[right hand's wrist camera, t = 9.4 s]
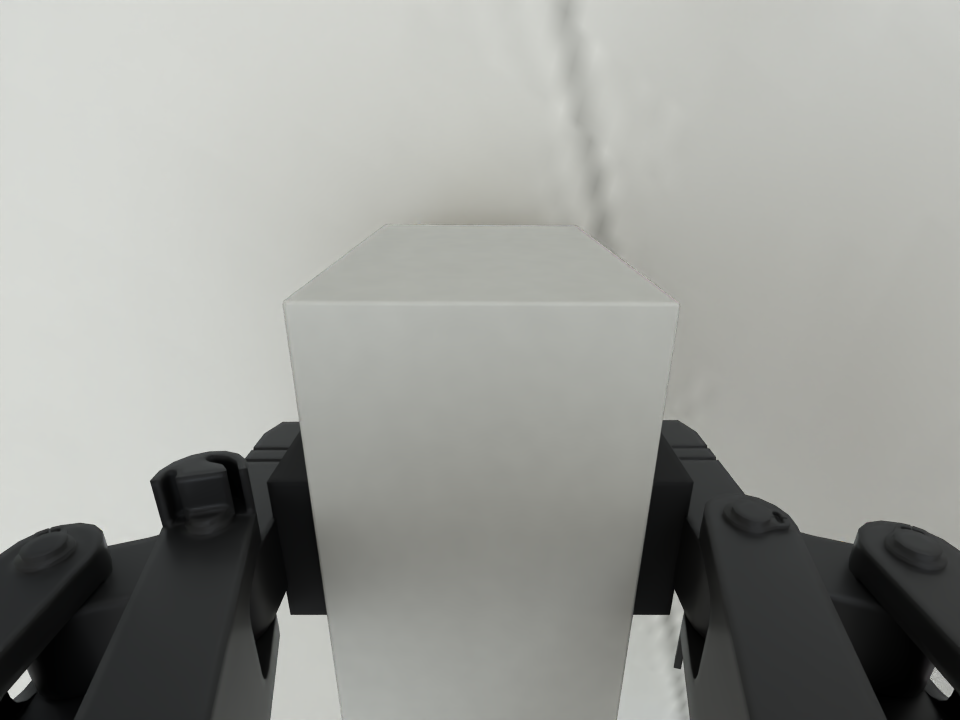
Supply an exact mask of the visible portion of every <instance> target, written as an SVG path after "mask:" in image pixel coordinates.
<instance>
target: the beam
mask: <svg viewBox="0 0 960 720" xmlns="http://www.w3.org/2000/svg"><path fill="white" fill-rule="evenodd" d="M679 309H680V304H679V302H678V301H677V300H675V299H674V298H673V297H671V296H670V295H669V294H667V293H666V292H665V291H663V290H662V289H661V288H659V287H658V286H657V285H655V284H654V283H653V282H651V281H650V280H649V279H647V278H646V277H645V276H643V275H642V274H641V273H639V272H638V271H637V270H635V269H634V268H633V267H631V266H630V265H629V264H627V263H626V262H625V261H623V260H622V259H621V258H619V257H618V256H617V255H615V254H614V253H613V252H611V251H610V250H609V249H607V248H606V247H605V246H603V245H602V244H601V243H599V242H598V241H597V240H595V239H594V238H593V237H591V236H590V235H589V234H587V233H586V232H585V231H583V230H582V229H581V228H579V227H578V226H576V225H384V226H383V227H381V228H380V229H379V230H377V231H376V232H375V233H373V234H372V235H371V236H369V237H368V238H367V239H365V240H364V241H363V242H361V243H360V244H359V245H357V246H356V247H355V248H354V249H352V250H351V251H350V252H348V253H347V254H346V255H344V256H343V257H342V258H340V259H339V260H338V261H336V262H335V263H334V264H332V265H331V266H330V267H328V268H327V269H326V270H324V271H323V272H322V273H320V274H319V275H318V276H316V277H315V278H314V279H312V280H311V281H310V282H308V283H307V284H306V285H304V286H303V287H302V288H300V289H299V290H298V291H296V292H295V293H294V294H292V295H291V296H290V297H288V298H287V299H286V300H284V302H283V310H284V317H285V324H286V331H287V338H288V345H289V352H290V359H291V366H292V373H293V380H294V387H295V394H296V401H297V408H298V415H299V422H300V429H301V436H302V443H303V450H304V457H305V464H306V471H307V478H308V485H309V492H310V499H311V506H312V513H313V520H314V527H315V534H316V541H317V548H318V555H319V562H320V568H321V575H322V582H323V589H324V596H325V603H326V610H327V617H328V624H329V631H330V638H331V645H332V652H333V659H334V666H335V673H336V680H337V687H338V694H339V701H340V708H341V715H342V720H617V715H618V708H619V702H620V695H621V689H622V682H623V675H624V669H625V662H626V656H627V649H628V643H629V636H630V630H631V623H632V617H633V610H634V603H635V597H636V590H637V584H638V577H639V571H640V564H641V558H642V551H643V545H644V538H645V532H646V525H647V518H648V512H649V505H650V499H651V492H652V486H653V479H654V473H655V466H656V460H657V453H658V446H659V440H660V433H661V427H662V420H663V414H664V407H665V401H666V394H667V388H668V381H669V375H670V368H671V361H672V355H673V348H674V342H675V335H676V329H677V322H678V316H679Z"/></svg>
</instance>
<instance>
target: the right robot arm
mask: <svg viewBox="0 0 960 720" xmlns="http://www.w3.org/2000/svg"><path fill="white" fill-rule="evenodd" d="M150 483H151V486H152V490H153V493H154V497H155V500H156V504H157V508H158V511H159V515H160V518H161V522H162V525H163V528H162V530H161V532H160V534H159V535H157V536H153V537H149V538H145V539H140V540H135V541H130V542H125V543H120V544H116V545H111V546H107V543H106V540H105V537H104V534H103V531H102V530H100V529H99V528H98V527H97V526H95V525H92V524H85V523H75V524H67V525H60V526H55V527H51V528H50V529H49V528H48V529H45V530H42V531H39V532H37V533H35V534H34V535H32V536H30V537H27V538H25V539H23V540H21V541H19V542H17V543H16V544H14V545H13V546H12V547H10V548H9V549H7V550H6V551H4V552H3V553H1V554H0V720H270V717H271V708H272V699H273V691H274V682H275V673H276V664H277V656H278V647H279V638H280V632H279V626H278V620H277V615H276V613H277V611H278V608H279V606H280V604H281V601H282V599H283V597H284V595H285V592H287V597H288V603H289V608H290V614H291V615H327V610H326V603H325V596H324V589H323V582H322V575H321V568H320V562H319V555H318V548H317V541H316V534H315V527H314V520H313V513H312V506H311V499H310V492H309V485H308V478H307V471H306V464H305V457H304V450H303V443H302V436H301V429H300V422H282V423H280V424H279V425H277V426H276V427H274V428H273V429H271V430H269V431H268V432H266V433H265V434H264V435H263V436H262V437H261V439H260V440H259V441H258V443H257V444H256V445H255V446H254V450H251V452H250V453H249V454H248V455H247V457H246V458H243V457H242V456H241V455H239V454H237V453H232V452H228V451H210V452H205V453H200V454H195V455H191V456H188V457H186V458H183V459H180V460H178V461H175V462H173V463H171V464H170V465H168V466H166V467H165V468H163V469H162V470H160V471H159V472H158V473H157V474H156V475H155V476H154V477H153V478H152V479H151V481H150ZM674 589H675V591H676V593H677V596H678V598H679V600H680V602H681V605H682V607H683V609H684V615H683V620H682V625H681V630H680V635H679V640H678V646H677V651H676V656H675V662H674V668H678V669H681V665H682V661H683V663H684V672H685V680H686V689H687V698H688V707H689V715H690V720H960V551H959V550H958V549H956V548H955V547H953V546H952V545H951V544H949V543H948V542H946V541H945V540H943V539H941V538H939V537H937V536H935V535H933V534H930V533H928V532H927V531H925V530H923V529H920V528H917V527H914V526H913V527H912V526H910V525H907V524H903V523H897V522H888V521H875V522H867V523H866V524H864V525H863V526H862V527H860V528H859V530H858V533H857V536H856V539H855V542H854V544H851V543H846V542H841V541H836V540H832V539H827V538H822V537H817V536H812V535H808V534H805V533H801V532H800V531H799V529H798V527H797V525H796V524H795V523H794V521H793V520H792V519H791V517H790V516H789V515H788V514H786V513H785V512H784V511H782V510H781V509H780V508H778V507H777V506H775V505H773V504H771V503H769V502H766V501H764V500H762V499H760V498H757V497H752V496H748V495H745V494H744V493H743V491H742V490H741V489H740V487H739V486H738V485H737V484H736V482H735V481H734V480H733V478H732V477H731V476H730V475H729V473H728V472H727V471H726V469H725V468H724V467H723V466H722V464H721V463H720V462H719V460H716V457H715V455H714V454H713V453H712V451H711V450H710V449H709V448H707V445H706V444H705V442H704V441H703V440H702V439H701V437H700V436H699V435H698V433H697V432H696V431H694V430H692V429H691V428H689V427H688V426H686V425H685V424H683V423H681V422H680V421H678V420H662V427H661V433H660V440H659V446H658V453H657V460H656V466H655V473H654V479H653V486H652V492H651V499H650V505H649V512H648V518H647V525H646V532H645V538H644V545H643V551H642V558H641V564H640V571H639V577H638V584H637V590H636V597H635V603H634V610H633V615H670V610H671V605H672V599H673V594H674ZM934 667H936V668H937V670H938V671H939V672H940V673H941V674H942V675H943V676H944V678H945V679H946V680H947V681H948V682H949V683H950V684H951V686H952V687H953V688H954V691H953V693H952V695H951V696H950V697H949V698H948V697H946V696H945V695H944V694H943V693H942V692H941V691H940V690H939V689H938V688H937V687H936V685H935V684H934V683H933V682H932V681H931V680H930V676H931V674H932V672H933V669H934ZM26 669H27V670H28V673H29V675H30V677H31V679H32V681H31V682H30V683H29V684H28V686H27V687H26V688H25V689H24V690H23V691H22V692H21V693H20V694H19V695H18V696H17V697H15V698H14V699H12V698H10V696H9V694H8V692H7V691H8V690H9V689H10V688H11V687H12V686H13V684H14V683H15V682H16V681H17V680H18V679H19V678H20V676H21V675H22V674H23V673H24V672H25V671H26Z"/></svg>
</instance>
